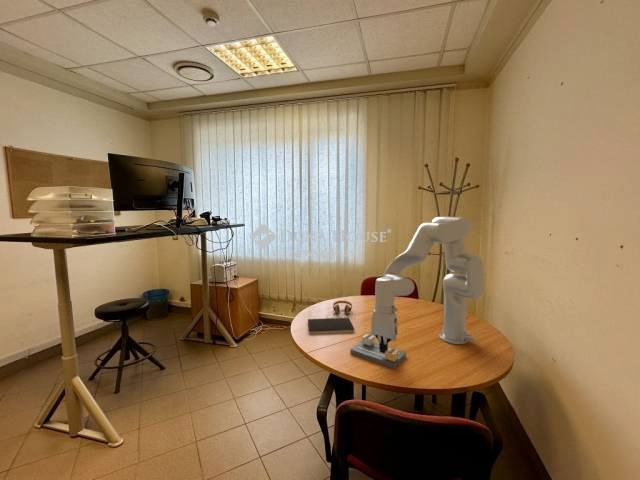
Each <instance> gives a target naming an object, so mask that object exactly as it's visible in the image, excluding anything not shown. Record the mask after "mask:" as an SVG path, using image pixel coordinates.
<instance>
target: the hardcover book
mask: <svg viewBox="0 0 640 480" xmlns="http://www.w3.org/2000/svg"><path fill="white" fill-rule="evenodd" d="M350 319H351V318H350V317H345V318H344V317H342V318H340V317H335V318H334V317H333V318H332V317H331V318H328V317H326V318H308V319H307V325H308V332H309V335H315V334H316V335H321V334H338V333H339V334H341V333H343V334H344V333H346V334H347V333H354V332H355V328H354V325H353V323H352V321H351V320H350Z"/></svg>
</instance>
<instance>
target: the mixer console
mask: <svg viewBox="0 0 640 480" xmlns="http://www.w3.org/2000/svg"><path fill="white" fill-rule="evenodd" d="M388 348H392V347H390V346H388ZM395 350H399V355H398V359H397V360H396V361H395V362H393V361H391V360H388V359H385V353H381V352H380V349H379V342H375V341H374V343H373V344H372V345H371V346H369V345H366V344H363V343H362V340H360V341H359V342H358V343H357V344H355V345H354V346H353V347H352V348H350V354H351V355H352V356H353V355H354V356H356V357H359V358H362V359H364V360H367V361H370V362H372V363H376V364H378V365H381V366H384V367H387V368H390V369H391V370H392V369H393V370H395V369H396V368H397V367H398V366H399V365H400V364H401V363H402V361H404V359H405V358H406V357H407V352H406V351H404V350H401V349H398V348H395Z"/></svg>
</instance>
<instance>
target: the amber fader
mask: <svg viewBox="0 0 640 480" xmlns="http://www.w3.org/2000/svg"><path fill="white" fill-rule="evenodd" d="M395 349H396V348H395V347H391V348H388V349H387V350H386V351H385V359H388V360H391V361H393V362H395V361H396V360H397V359H398V355H399V350H400V349H398V350H395Z"/></svg>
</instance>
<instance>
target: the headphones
mask: <svg viewBox="0 0 640 480" xmlns="http://www.w3.org/2000/svg"><path fill="white" fill-rule="evenodd" d="M339 304H346V305H345V307H344V309H343V310H344V313H341V314H340V312H341V310H340V308H341V307H340V305H339ZM332 308H333V312H334V313H335V314H336V317H334V316H332V317H331V318H346V316H344V317H342V315H347V314H351V313H350V312H352V309H353V304H352V302H351V301H348V300H337V301H334V303H333V304H332ZM339 315H340V316H339ZM326 317H329V314H328V315H326ZM349 319H350V321H351V320H352V318H349Z"/></svg>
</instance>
